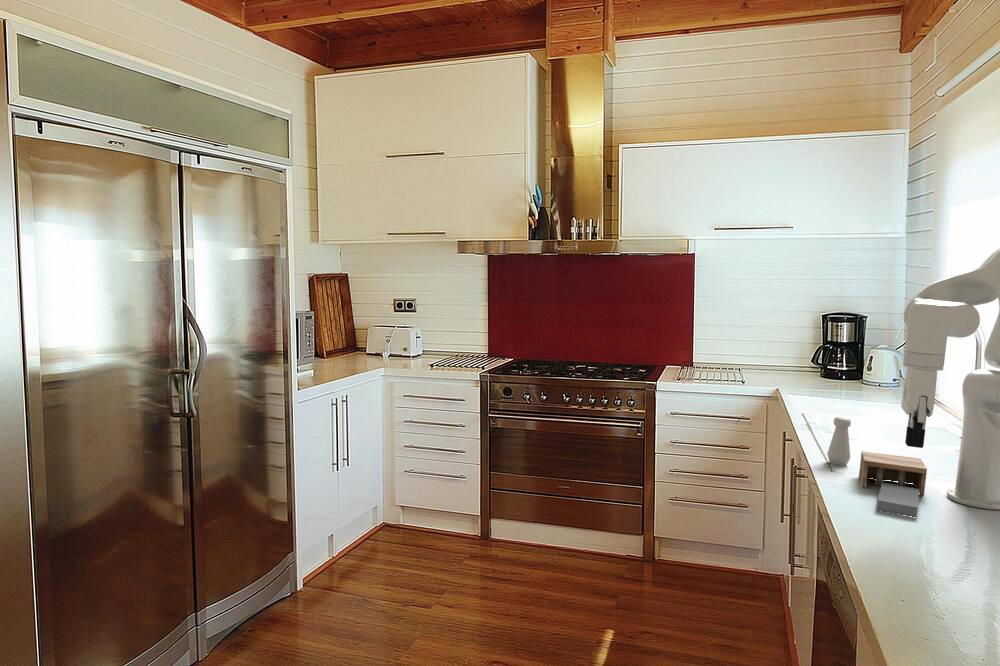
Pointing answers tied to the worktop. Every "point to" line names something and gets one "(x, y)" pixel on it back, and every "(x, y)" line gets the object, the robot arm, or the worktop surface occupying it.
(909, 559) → the worktop surface
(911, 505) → the board
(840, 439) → the salt shaker
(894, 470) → the open wooden box
